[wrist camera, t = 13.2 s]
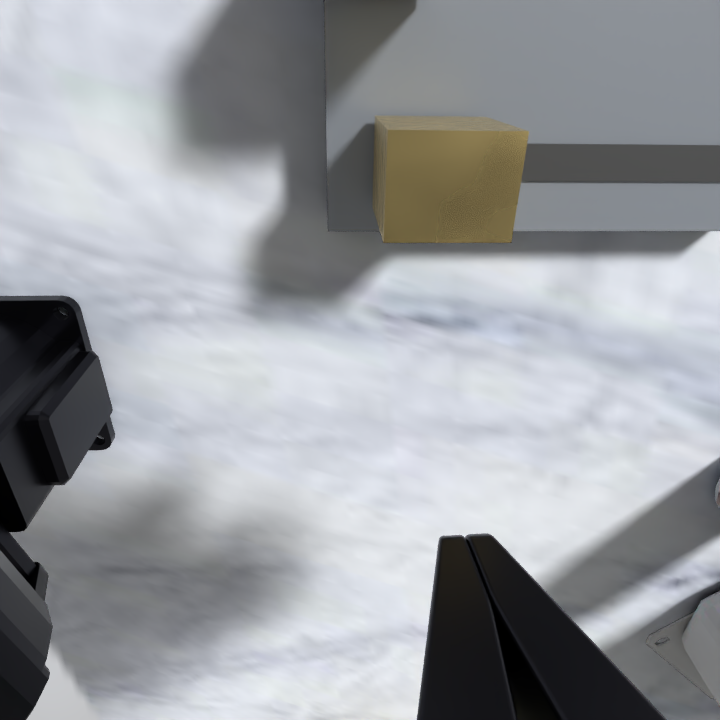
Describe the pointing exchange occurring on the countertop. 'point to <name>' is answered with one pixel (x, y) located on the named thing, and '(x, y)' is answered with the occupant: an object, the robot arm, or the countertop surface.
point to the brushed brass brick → (446, 178)
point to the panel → (540, 102)
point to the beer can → (717, 493)
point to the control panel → (694, 646)
